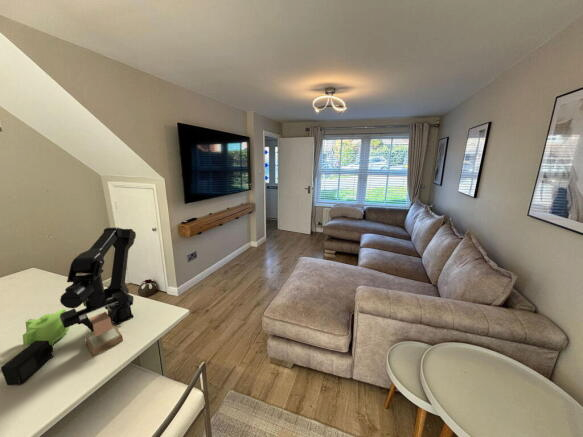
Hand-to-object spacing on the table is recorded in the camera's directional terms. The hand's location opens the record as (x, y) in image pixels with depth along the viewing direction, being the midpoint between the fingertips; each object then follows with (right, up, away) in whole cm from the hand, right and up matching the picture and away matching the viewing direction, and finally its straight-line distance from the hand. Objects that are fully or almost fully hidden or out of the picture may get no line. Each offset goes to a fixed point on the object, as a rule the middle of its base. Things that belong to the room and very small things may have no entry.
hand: (101, 327), depth 87 cm
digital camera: (-14, -10, -10) cm, 20 cm away
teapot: (-21, -6, +2) cm, 22 cm away
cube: (0, -1, 0) cm, 1 cm away
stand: (0, -6, +2) cm, 7 cm away
